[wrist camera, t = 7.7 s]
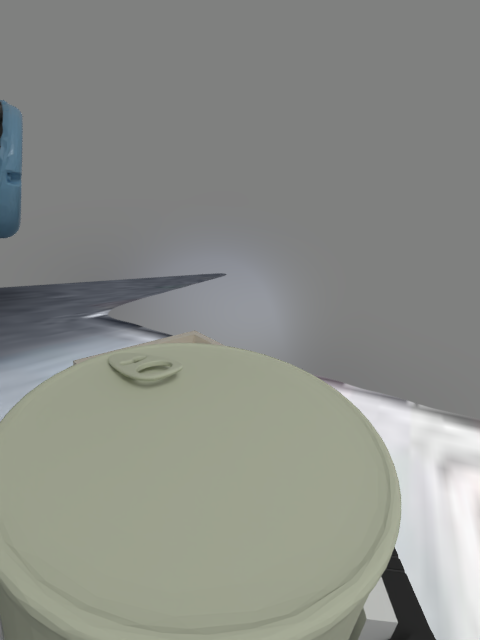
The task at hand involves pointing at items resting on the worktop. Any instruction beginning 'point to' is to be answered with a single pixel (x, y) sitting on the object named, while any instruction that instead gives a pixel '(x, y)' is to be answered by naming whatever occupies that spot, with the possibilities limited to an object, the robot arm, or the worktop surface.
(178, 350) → the can
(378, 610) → the robot arm
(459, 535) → the worktop surface
